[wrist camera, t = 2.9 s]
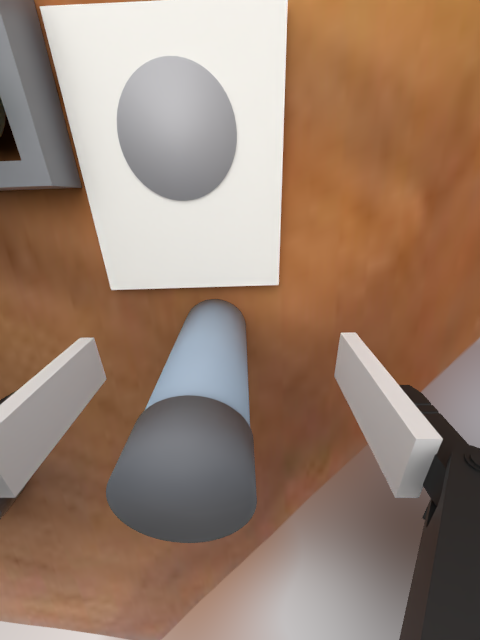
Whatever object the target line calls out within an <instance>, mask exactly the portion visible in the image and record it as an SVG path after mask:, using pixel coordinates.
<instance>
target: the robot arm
mask: <svg viewBox="0 0 480 640" xmlns="http://www.w3.org/2000/svg"><path fill="white" fill-rule="evenodd" d="M334 376H335V378H336V380H337V382H338V384H339V386H340V388H341V390H342V392H343V394H344V396H345V398H346V400H347V402H348V404H349V406H350V408H351V410H352V412H353V414H354V416H355V418H356V420H357V422H358V424H359V426H360V428H361V430H362V432H363V434H364V436H365V438H366V440H367V442H368V444H369V446H370V448H371V450H372V452H373V454H374V456H375V458H376V460H377V462H378V464H379V466H380V468H381V470H382V472H383V474H384V476H385V478H386V480H387V482H388V484H389V486H390V488H391V490H392V492H393V494H394V496H395V498H419V496H420V493H421V491H422V488H423V486H424V488H425V489H426V491H427V493H428V494H429V496H430V497H431V500H430V502H429V504H428V507H427V509H426V511H425V513H424V516H423V519H425V523H424V528H423V533H422V537H421V542H420V546H419V551H418V556H417V560H416V565H415V570H414V574H413V579H412V584H411V588H410V593H409V597H408V602H407V607H406V611H405V616H404V621H403V625H402V630H401V635H400V639H399V640H480V448H477V447H474V446H470V445H468V444H467V442H466V441H465V440H464V439H463V438H462V437H461V436H460V435H459V434H458V433H457V431H455V429H454V428H453V427H452V426H451V425H450V424H449V423H448V422H447V420H446V419H445V418H444V417H443V416H442V415H441V414H439V413H438V411H437V409H436V408H435V407H434V406H433V405H431V403H430V402H429V401H428V400H427V398H426V397H425V396H424V395H423V394H422V393H421V392H419V391H418V390H416V389H415V388H413V387H412V386H410V385H398V384H397V382H396V381H395V380H394V379H393V378H392V376H391V375H390V374H389V373H388V371H387V370H386V369H385V368H384V367H383V365H382V364H381V363H380V362H379V361H378V359H377V358H376V357H375V356H374V354H373V353H372V352H371V351H370V350H369V348H368V347H367V346H366V345H365V344H364V342H363V341H362V340H361V339H360V337H359V336H358V335H357V334H356V333H341V334H340V341H339V347H338V354H337V361H336V368H335V375H334ZM105 381H106V375H105V372H104V369H103V366H102V362H101V359H100V356H99V353H98V349H97V346H96V343H95V339H94V338H79V339H78V340H77V341H76V342H74V343H73V344H72V345H71V346H70V347H68V348H67V349H66V350H65V351H64V352H63V353H61V354H60V355H59V356H58V357H57V358H55V359H54V360H53V361H52V362H51V363H49V364H48V365H47V366H46V367H45V368H43V369H42V370H41V371H40V372H39V373H38V374H36V375H35V376H34V377H33V378H32V379H30V380H29V381H28V382H27V383H26V384H24V385H23V386H22V387H21V388H20V389H18V390H17V391H15V392H13V393H12V394H10V395H8V396H6V397H5V398H3V399H1V400H0V519H1V518H2V517H3V516H4V515H5V514H6V512H7V511H8V510H9V508H10V507H11V506H12V504H13V503H14V502H15V500H16V499H17V498H18V496H19V495H20V494H21V492H22V491H23V489H24V488H25V485H26V483H27V482H28V481H29V479H30V478H31V477H32V475H33V474H34V473H35V471H36V470H37V469H38V468H39V466H40V465H41V464H42V462H43V461H44V460H45V458H46V457H47V456H48V455H49V453H50V452H51V451H52V449H53V448H54V447H55V446H56V444H57V443H58V442H59V440H60V439H61V438H62V436H63V435H64V434H65V433H66V431H67V430H68V429H69V427H70V426H71V425H72V423H73V422H74V421H75V420H76V418H77V417H78V416H79V414H80V413H81V412H82V410H83V409H84V408H85V407H86V405H87V404H88V403H89V401H90V400H91V399H92V397H93V396H94V395H95V394H96V392H97V391H98V390H99V388H100V387H101V386H102V385H103V383H104V382H105Z"/></svg>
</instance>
